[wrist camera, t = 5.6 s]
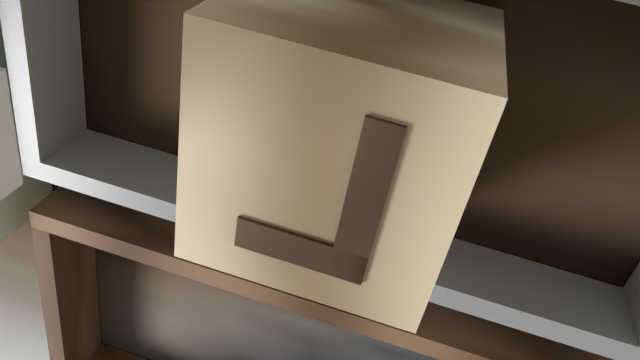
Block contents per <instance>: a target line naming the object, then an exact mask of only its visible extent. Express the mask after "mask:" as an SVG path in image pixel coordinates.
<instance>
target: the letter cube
mask: <svg viewBox="0 0 640 360" xmlns="http://www.w3.org/2000/svg"><path fill="white" fill-rule="evenodd" d="M507 100H508V90H507V70H506V50H505V30H504V10H502V9H498V8H494V7H490V6H486V5H481V4H477V3H473V2H469V1H465V0H205V1H203V2H202V3H200V4H198V5H196V6H195V7H193V8H191V9H190V10H188V11H186V12H184V16H183V41H182V67H181V93H180V118H179V144H178V170H177V195H176V221H175V247H174V256H176V257H179V258H182V259H185V260H188V261H191V262H194V263H197V264H201V265H204V266H207V267H210V268H213V269H216V270H219V271H222V272H225V273H229V274H232V275H235V276H238V277H241V278H244V279H247V280H250V281H253V282H257V283H260V284H263V285H266V286H269V287H272V288H275V289H278V290H281V291H284V292H288V293H291V294H294V295H297V296H300V297H303V298H306V299H309V300H312V301H316V302H319V303H322V304H325V305H328V306H331V307H334V308H337V309H340V310H344V311H347V312H350V313H353V314H356V315H359V316H362V317H365V318H368V319H371V320H375V321H378V322H381V323H384V324H387V325H390V326H393V327H396V328H399V329H403V330H406V331H409V332H412V333H415V334H416V331H417V329H418V326H419V324H420V321H421V319H422V316H423V314H424V311H425V309H426V306H427V304H428V301H429V298H430V296H431V293H432V291H433V288H434V286H435V283H436V281H437V278H438V276H439V273H440V270H441V268H442V265H443V263H444V260H445V258H446V255H447V253H448V250H449V248H450V245H451V242H452V240H453V237H454V235H455V232H456V230H457V227H458V225H459V222H460V220H461V217H462V214H463V212H464V209H465V207H466V204H467V202H468V199H469V197H470V194H471V192H472V189H473V186H474V184H475V181H476V179H477V176H478V174H479V171H480V169H481V166H482V164H483V161H484V158H485V156H486V153H487V151H488V148H489V146H490V143H491V141H492V138H493V136H494V133H495V130H496V128H497V125H498V123H499V120H500V118H501V115H502V113H503V110H504V108H505V105H506V103H507Z"/></svg>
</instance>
